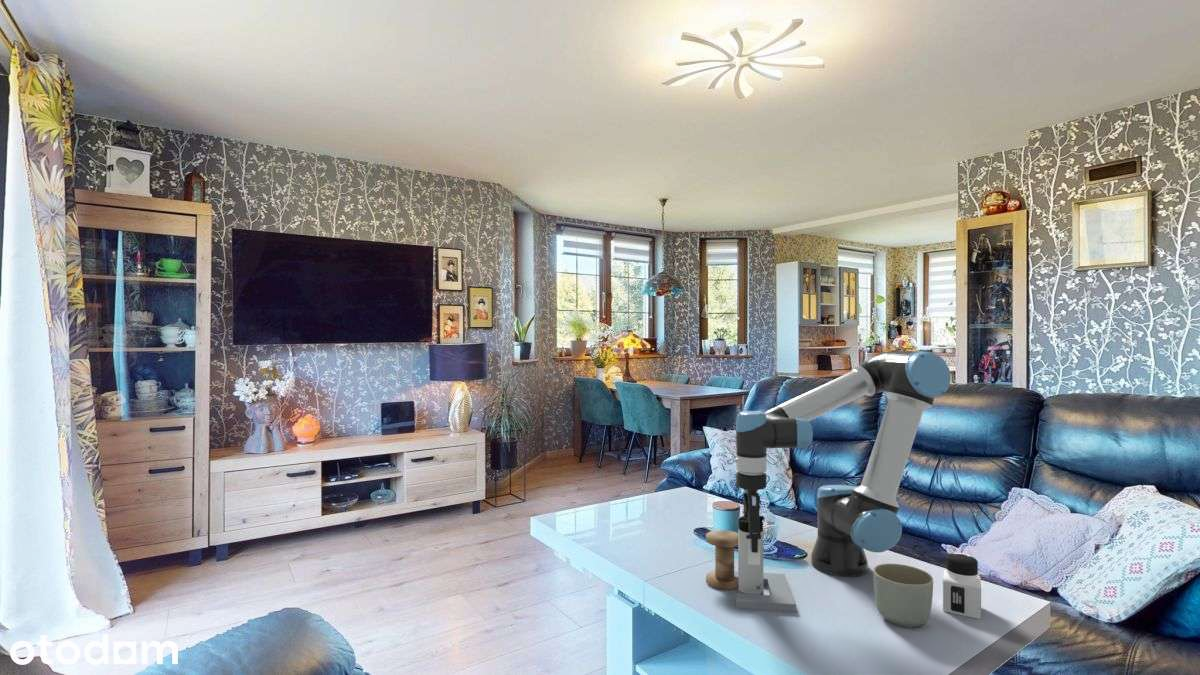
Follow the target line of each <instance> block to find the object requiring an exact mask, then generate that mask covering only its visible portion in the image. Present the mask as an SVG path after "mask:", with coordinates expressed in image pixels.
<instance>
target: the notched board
mask: <svg viewBox="0 0 1200 675" xmlns="http://www.w3.org/2000/svg"><path fill="white" fill-rule="evenodd" d="M734 580H738V570H734ZM763 587H767V590H768V593H769V595H767V594H763V595H756V594H740V593H739V592H737V593H736V592H735V593H734V602H735V609H737V610H738V609H740V610H750V611H751V610H753V611H764V612H765V611H766V612H767V611H768V612H779V613H780V612H781V613H794V614H795V613H797V603H796V601H795V598H794V595H793V593H792V590H791V587H790V585H789V583H788V580H787V577H786V574H785V573H777V572H776V573H774V572H763Z"/></svg>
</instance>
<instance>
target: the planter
mask: <svg viewBox="0 0 1200 675" xmlns="http://www.w3.org/2000/svg"><path fill="white" fill-rule="evenodd" d="M872 573H873V589H874V599H875V605H876V608H877V611H878V612H879V614H880V615H881V616H882V617H883V618H884V619H885V620H887V621H888V622H890V623H892V624H893V625H896V626H899V627H902V628H917V627H920V626H923V625H925V624H926V623H927V622H928V621H929V619H930V617H931V612H932V605H933V594H934V592H933V591H934V578H933V576H932V575H931V574H930V573H929V572H926V571H925V570H922V569H920V568H917V567H914V566H910V565H906V564H899V563H883V564H877V565H876V566H875V567H874V568H873V572H872Z"/></svg>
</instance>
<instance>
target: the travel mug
mask: <svg viewBox="0 0 1200 675" xmlns="http://www.w3.org/2000/svg"><path fill="white" fill-rule="evenodd" d="M763 521H766V519H765V516H763V515H760V534H761V539H760V565H750V564H748V539H746V535H749V525H748V515H746V516H744V515H742V516H740V517H739V519H738V522H737V523H738V526H737V527H738V532H737V533H738V547H737V550H738V551H737V552H738V553H737V554H738V561H737V562H738V563H737V565H738V567H737V568H738V569H737V571H738V585H739V587H738V589H737V590H738V592H737V593H740V594H756V595H764V586H763V573H764V523H763ZM752 534H757V533H752Z"/></svg>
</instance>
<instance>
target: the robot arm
mask: <svg viewBox="0 0 1200 675" xmlns="http://www.w3.org/2000/svg"><path fill="white" fill-rule="evenodd" d="M951 376H952V374H951V369H950V368H949V366H948V364H947V362H946V361H945V359H944V358H943V357H942V356H940V355H938V354H936V353H933V352H929V351H924V350H900V349H898V350H897V349H895V350H893V349H892V350H888V351H885V352H882V353H879V354H876V355H874V356H872V357H870V358H868V359H866V360H863V361H862V362H860V363H857V364H855V365H854V366H853V367H851V370H850V371H849V372H847V373H844V374H843V375H840V376H839V377H837V378H835V379H832V380H830V381H827V382H826V383H824V384H821V385H819V386H817V387H815V388H813V389H811V390H809V391H807V392H805V393H802V394H801V395H798V396H796V397H794V398H791V399H789V400H787V401H785V402H783V403H781V404H779V405H777V406H774V407H771V408H770V409H768V410H764V409H762V410H742V411H740V412H738V413H737V414H736V419H735V420H736V421H735V423H736V424H735V434H736V436H735V440H736V441H735V442H736V443H735V444H736V451H735V452H736V458H734V459H733V462H734V463H736V470H737V472H736V477H735V478H736V481H735V482H736V487H738V488H740V489H741V490H742V489H743V490H744V491H743V492H742V498H743V511H742V514H743V516H746V515H748V525H749V535H746V539H748V564H750V565H760V539H761V534H760V516H761V515H760V512H761V511H760V510H761V509H760V502H761V496H760V494H759V492H758V491H762V490H765V489H766V488H767V474H766V472H767V468H768V467H767V457H768V456H767V449H795V448H796V449H799V448H807V447H809V446H810V445H811V444H812V442H813V437H814V430H813V425H812V424H811V422H810V421H812V420H815V419H817V418H819V417H821V416H823V415H825V414H827V413H829V412H832V411H834V410H836V409H838V408H840V407H843V406H845V405H847V404H848V403H851V402H853V401H855V400H857V399H860V398H861V397H863V396H867V397H871V396H874V395H877V394H879V393H884V395H885V397H886V398H887V405H886V408H885V410H884V413H883V417H882V420H881V423H880V426H879V430H878V432H877V434H876V439H875V442H874V444H873V447H872V450H871V454H870V456H869V459H868V462H867V466H866V469H865V470H864V474H863V478H862V481H861V484H860V485H859V486H855V485H848V484H847V485H845V484H828V485H827V484H826V485H821V486H820V487H819V488H818V489H817V495H816V500H817V501H816V504H817V505H816V506H817V508H816V509H817V510H816V511H817V518H816V519H817V537H816V541H815V543H814V546H813V548H812V552H811V555H810V559H811V560H810V563H811V566H813V567H814V568H815V569H816V570H819V571H821V572H824V573H826V574H830V575H834V576H838V577H858V576H859V577H860V576H863V575H865V574H867V573H868V571H869V562H868V558H867V556H866V553H865V550H866V551H869V552H872V553H884V552H886V551H888V550H890V549H892V548H893V547H894V546H896V544H897V543H898V542H899V540H900V539H901V536H902V534H903V532H902V531H903V527H902V526H903V525H902V523H901V520H900V518H899V517H898V512H899V508H900V505H899V503H898V501H897V498H896V497H897V494H898V491H899V488H900V484H901V481H902V479H903V475H904V472H905V469H906V467H907V463H908V460H909V457H910V453H911V451H912V447H913V444H914V441H915V438H916V435H917V433H918V432H917V431H918V430H919V425H920V422H921V419H922V417H923V414H924V412H925V411H926V410H929V409H931V408H932V407H933V405H934V402H935V398H937V397H940V396H941V395H943V394H945V393H946V392H947V390H948V389H949V387H950V385H951V381H952V380H951V378H952V377H951ZM752 533H757V534H752Z"/></svg>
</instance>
